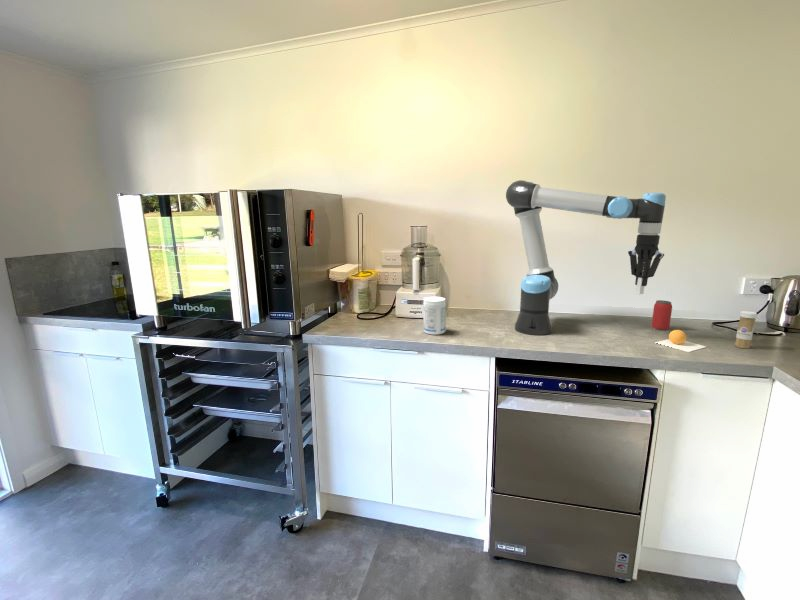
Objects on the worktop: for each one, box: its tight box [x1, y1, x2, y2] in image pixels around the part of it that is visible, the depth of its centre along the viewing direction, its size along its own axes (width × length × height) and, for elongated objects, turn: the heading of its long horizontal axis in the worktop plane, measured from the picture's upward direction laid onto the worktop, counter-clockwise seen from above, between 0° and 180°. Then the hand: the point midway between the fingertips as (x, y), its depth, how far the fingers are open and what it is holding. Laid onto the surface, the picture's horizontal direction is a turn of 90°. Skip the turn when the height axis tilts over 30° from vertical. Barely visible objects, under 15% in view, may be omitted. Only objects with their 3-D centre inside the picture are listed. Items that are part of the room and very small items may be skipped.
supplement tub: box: [422, 296, 447, 336], centre depth 165 cm, size 10×10×15 cm
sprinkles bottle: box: [734, 310, 758, 349], centre depth 143 cm, size 5×5×14 cm
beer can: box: [651, 299, 673, 331], centre depth 168 cm, size 7×7×12 cm
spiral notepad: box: [654, 338, 707, 353], centre depth 147 cm, size 12×12×1 cm
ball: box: [668, 329, 687, 344], centre depth 147 cm, size 6×6×6 cm
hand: (639, 293), depth 155 cm, fingers closed
